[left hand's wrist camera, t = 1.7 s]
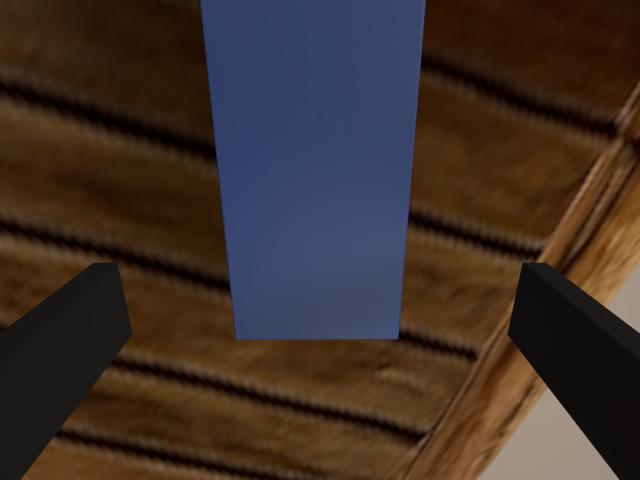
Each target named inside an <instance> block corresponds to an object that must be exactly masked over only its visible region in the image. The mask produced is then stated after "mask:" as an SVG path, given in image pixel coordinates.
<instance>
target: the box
mask: <svg viewBox="0 0 640 480" xmlns="http://www.w3.org/2000/svg"><path fill="white" fill-rule="evenodd" d="M425 2H426V0H200V6H201V15H202V25H203V34H204V44H205V53H206V63H207V72H208V82H209V91H210V101H211V110H212V120H213V129H214V139H215V148H216V158H217V167H218V177H219V186H220V196H221V205H222V215H223V224H224V234H225V243H226V253H227V262H228V272H229V281H230V291H231V300H232V310H233V319H234V329H235V338H236V340H325V339H398V335H399V323H400V311H401V298H402V286H403V274H404V261H405V249H406V237H407V224H408V212H409V200H410V187H411V175H412V163H413V150H414V138H415V126H416V113H417V101H418V89H419V76H420V64H421V52H422V39H423V27H424V15H425Z"/></svg>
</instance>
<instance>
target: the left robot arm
mask: <svg viewBox="0 0 640 480" xmlns="http://www.w3.org/2000/svg"><path fill="white" fill-rule="evenodd" d="M131 336H132V330H131V325H130V320H129V316H128V311H127V306H126V302H125V297H124V292H123V288H122V283H121V278H120V273H119V269H118V264H117V263H93V264H91V265H90V266H89V267H87V268H86V269H85V270H83V271H82V272H81V273H79V274H78V275H77V276H75V277H74V278H73V279H71V280H70V281H69V282H67V283H66V284H65V285H64V286H62V287H61V288H60V289H58V290H57V291H56V292H54V293H53V294H52V295H50V296H49V297H48V298H46V299H45V300H44V301H42V302H41V303H40V304H38V305H37V306H36V307H34V308H33V309H32V310H31V311H29V312H28V313H27V314H25V315H24V316H23V317H21V318H20V319H19V320H17V321H16V322H15V323H13V324H12V325H11V326H9V327H8V328H7V329H5V330H4V331H3V332H1V333H0V480H21V478H22V477H23V476H24V474H25V473H26V472H27V471H28V469H29V468H30V467H31V465H32V464H33V463H34V462H35V460H36V459H37V458H38V456H39V455H40V454H41V452H42V451H43V450H44V449H45V447H46V446H47V445H48V443H49V442H50V441H51V439H52V438H53V437H54V436H55V434H56V433H57V432H58V430H59V429H60V428H61V426H62V425H63V424H64V423H65V421H66V420H67V419H68V417H69V416H70V415H71V414H72V412H73V411H74V410H75V408H76V407H77V406H78V404H79V403H80V402H81V401H82V399H83V398H84V397H85V395H86V394H87V393H88V391H89V390H90V389H91V388H92V386H93V385H94V384H95V382H96V381H97V380H98V379H99V377H100V376H101V375H102V373H103V372H104V371H105V369H106V368H107V367H108V366H109V364H110V363H111V362H112V360H113V359H114V358H115V356H116V355H117V354H118V353H119V351H120V350H121V349H122V347H123V346H124V345H125V344H126V342H127V341H128V340H129V338H130V337H131ZM508 336H509V337H510V338H511V340H512V341H513V342H514V344H515V345H516V346H517V347H518V349H519V350H520V351H521V353H522V354H523V355H524V356H525V358H526V359H527V360H528V362H529V363H530V364H531V366H532V367H533V368H534V369H535V371H536V372H537V373H538V375H539V376H540V377H541V379H542V380H543V381H544V382H545V384H546V385H547V386H548V388H549V389H550V390H551V391H552V393H553V394H554V395H555V397H556V398H557V399H558V400H559V402H560V403H561V404H562V406H563V407H564V408H565V410H566V411H567V412H568V414H569V415H570V416H571V417H572V419H573V420H574V421H575V423H576V424H577V425H578V426H579V428H580V429H581V430H582V432H583V433H584V434H585V436H586V437H587V438H588V439H589V441H590V442H591V443H592V445H593V446H594V447H595V449H596V450H597V451H598V452H599V454H600V455H601V456H602V458H603V459H604V460H605V462H606V463H607V464H608V465H609V467H610V468H611V469H612V471H613V472H614V473H615V474H616V476H617V477H618V478H619V480H640V333H639V332H637V331H636V330H635V329H633V328H632V327H631V326H629V325H628V324H627V323H625V322H624V321H623V320H621V319H620V318H619V317H617V316H616V315H615V314H613V313H612V312H611V311H609V310H608V309H607V308H606V307H604V306H603V305H602V304H600V303H599V302H598V301H596V300H595V299H594V298H592V297H591V296H590V295H588V294H587V293H586V292H584V291H583V290H582V289H580V288H579V287H578V286H576V285H575V284H574V283H573V282H571V281H570V280H569V279H567V278H566V277H565V276H563V275H562V274H561V273H559V272H558V271H557V270H555V269H554V268H553V267H551V266H550V265H549V264H547V263H523V264H522V269H521V273H520V278H519V283H518V288H517V292H516V297H515V302H514V306H513V311H512V316H511V320H510V325H509V330H508Z"/></svg>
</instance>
